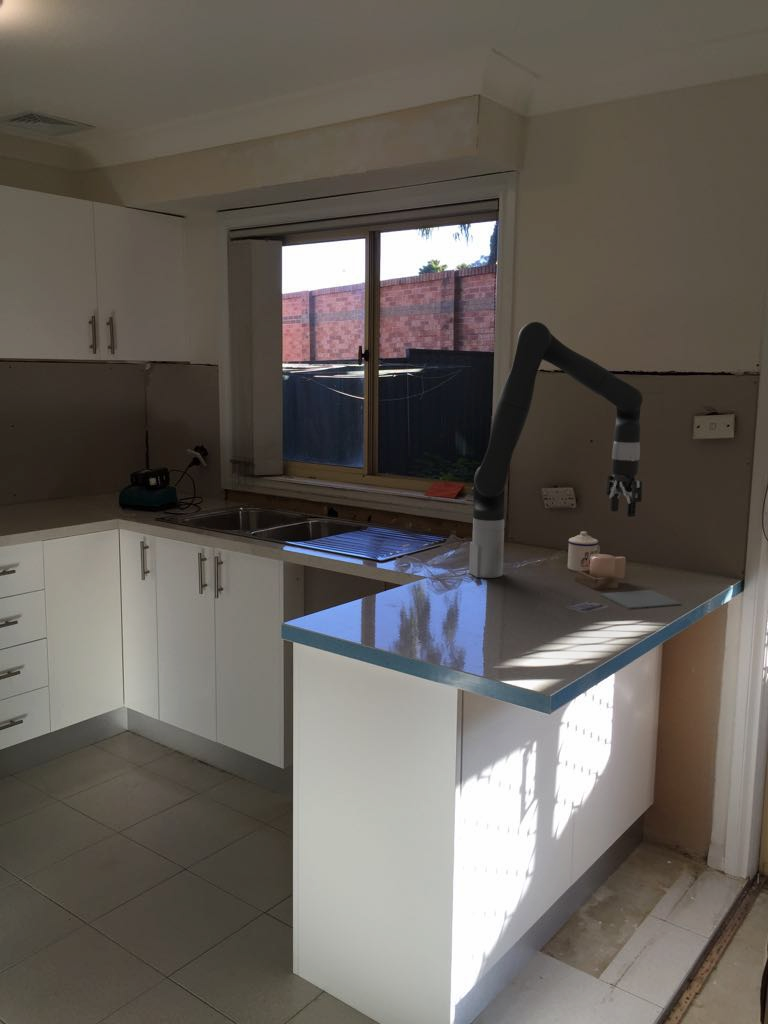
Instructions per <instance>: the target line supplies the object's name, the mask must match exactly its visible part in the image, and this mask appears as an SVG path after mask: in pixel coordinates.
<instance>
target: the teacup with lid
mask: <svg viewBox="0 0 768 1024" xmlns="http://www.w3.org/2000/svg"><path fill="white" fill-rule="evenodd" d="M567 543H568V553H567V554H568V555H567V568H568V569H569V570H571V571H573V572H575V570H585V569H590V556H591V555H593V554H600V551H601V548H600V545H599V540H598V539H596V538H593V537H592V536H590V535H588V532H587V531H580V534H578V535H576V536H573V537H570V538H569V539H568V541H567Z"/></svg>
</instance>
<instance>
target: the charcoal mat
mask: <svg viewBox="0 0 768 1024" xmlns="http://www.w3.org/2000/svg"><path fill="white" fill-rule="evenodd" d="M599 596H600V597H603V598H605V599H607V600H609V601H611V602H613V603H615V604H616V605H619V606H621V607H623V608H625V607H626V608H625V609H627V608H628V609H627V610H632V608H636V609H647V608H646V607H648V608H659V607H669V606H672V607H673V606H681V605H682V603H681V602H679V601H677V600H675V599H674V598H673V599H672V598H671V597H669V596H666V595H663V594H661V593H659V592H656V591H654V590H652V589H646V590H642V589H641V590H634V591H633V590H631V591H617V592H607V593H606V592H605V593H604V592H603V593H600V594H599ZM643 607H644V608H643Z"/></svg>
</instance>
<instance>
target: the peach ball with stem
mask: <svg viewBox="0 0 768 1024" xmlns="http://www.w3.org/2000/svg"><path fill="white" fill-rule="evenodd" d="M626 558H627V557H625V556H614V555H611V554H604V553H599V554H593V555H591V556H590V573H589V575H590V576H593V577H595V578H606V577H618V579H625V577H626V563H627V562H626V560H627V559H626Z"/></svg>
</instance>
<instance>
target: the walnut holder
mask: <svg viewBox="0 0 768 1024" xmlns="http://www.w3.org/2000/svg"><path fill="white" fill-rule="evenodd" d="M574 572H575V573H574V581H576V582H578V583H580V584H582V585H584V586H585V587H588V588H590V589H592V590H606V589H607V590H609V589H618V588H619V578H618V577H606V578H595V577H593V576H590V575H589V573H590V569H585V570H575V571H574Z"/></svg>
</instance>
